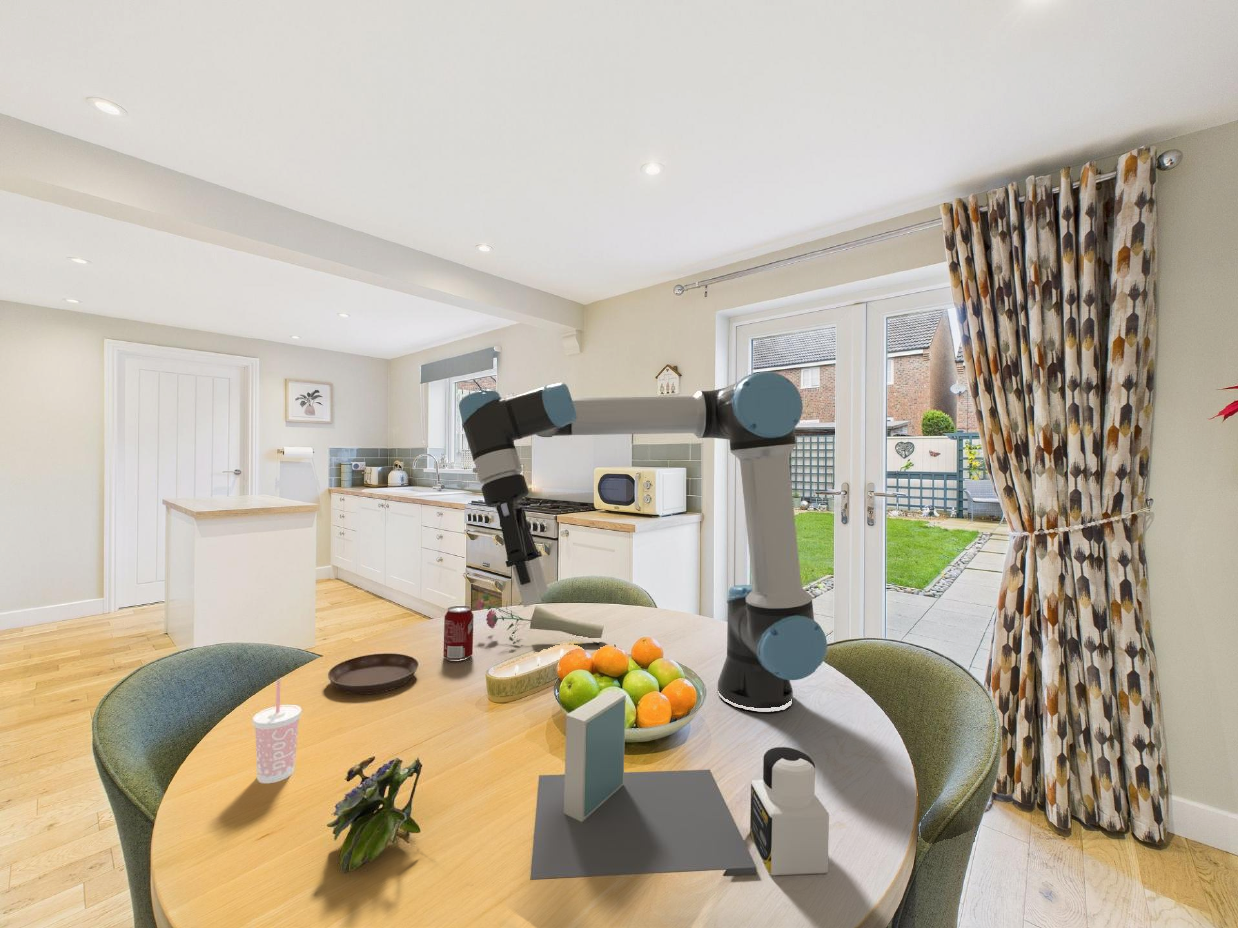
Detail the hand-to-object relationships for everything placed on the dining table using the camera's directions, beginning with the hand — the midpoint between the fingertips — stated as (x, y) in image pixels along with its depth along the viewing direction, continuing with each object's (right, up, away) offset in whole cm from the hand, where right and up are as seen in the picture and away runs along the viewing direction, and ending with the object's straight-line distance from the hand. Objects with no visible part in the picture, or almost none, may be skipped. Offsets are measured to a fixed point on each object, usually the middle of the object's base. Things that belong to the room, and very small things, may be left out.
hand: (537, 599), depth 89 cm
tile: (+10, -24, -15) cm, 30 cm away
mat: (+16, -25, -19) cm, 35 cm away
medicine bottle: (+34, -25, -24) cm, 49 cm away
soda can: (-25, -24, +39) cm, 53 cm away
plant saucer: (-39, -24, +25) cm, 52 cm away
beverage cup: (-37, -24, -10) cm, 45 cm away
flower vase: (-8, -25, +53) cm, 59 cm away
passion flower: (-16, -24, -23) cm, 37 cm away
